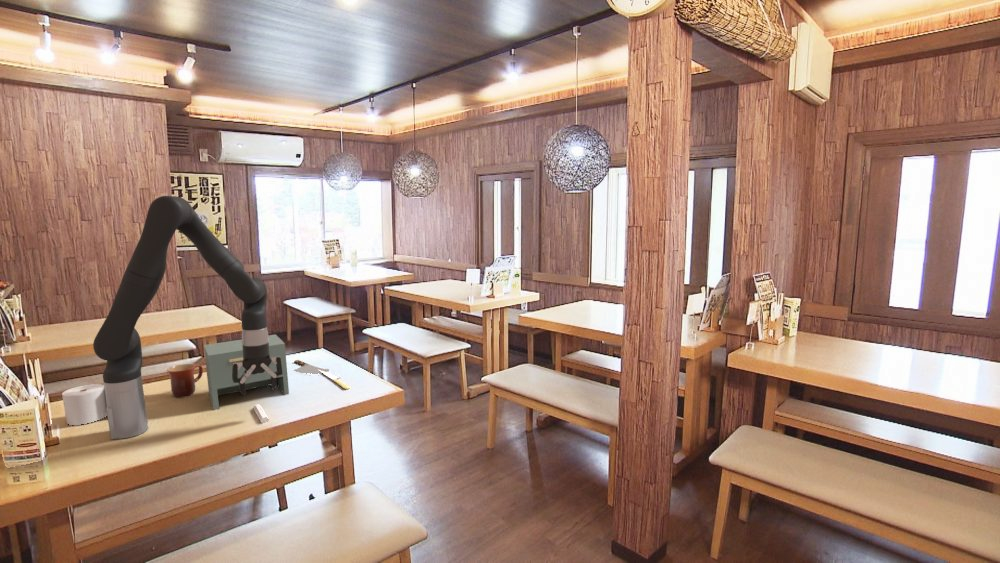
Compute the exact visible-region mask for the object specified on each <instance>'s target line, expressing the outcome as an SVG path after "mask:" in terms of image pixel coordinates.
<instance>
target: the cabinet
mask: <svg viewBox="0 0 1000 563" xmlns="http://www.w3.org/2000/svg"><path fill="white" fill-rule="evenodd" d="M268 338H269V354H270V358H273V357H276V356H279V357H280V358H281V365H282V373H283V374H282V375H279V376H277V378H276V379H277V387H278V388H279V389H280V391H281V392H282V393H283V395H284V396H286V395H287V396H288V395H289V394H290V389H289V387H290V386H289V379H288V378H289V376H288V365H287V353H286V343H285V342H284V341H283V340H282V339H281V338H280V337H279V336H278V335H277V334H276V333H275V334H270V335H269V334H268ZM203 351H204V358H205V361H204V362H205V368H206V369H205V370H206V379H207V387H208V394H209V399H210V402H211V405H212V408H213V410H214V411H216V410H219V409H220V403H219V396H222V395H226V394H231V393H237V392H240V387H239V383H234V382H233V380H232V363H233V362H236V363H241V362H243V347H242V339H236V340H229V341H222V342H217V343H215V342H214V343H209V344H204V345H203ZM269 368H270V369H271V370H272V371H273V372H276V371H277V368H276V364H274V362H273V361H272V362H271V364H270V365H269ZM244 370H245V368H244V367H243V366H241V367H240V369H239V370H238V378H240V377H241V375H242V374H243V372H244ZM244 383H245V391H247V390H253V389H256V388H261V387H266V386H271V375H270V374H269V373H268V372H267V371H265V372H264V373H257V374H250V375H249V377H248V378H247V379H246V380H245V382H244ZM246 389H247V390H246Z"/></svg>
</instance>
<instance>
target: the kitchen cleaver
mask: <svg viewBox="0 0 1000 563" xmlns="http://www.w3.org/2000/svg"><path fill="white" fill-rule="evenodd" d="M293 363H294V364H295V365H298V366H300V365H301V366H300V367H298V368H296V369H293V371H294V372H298V373H299V374H303V373H306V374H305V375H307V373H310V374H311V373H312V374H318V373H319V374H321V375H323V374H322V373H321V372H320V371H318V370H321V371H325V372H329V371H330V368H325V369H323V368H324V367H323V368H320V367H318V366H315V365H311V364H310V363H307V362H304V361H302V360H300V359H296V360H293Z"/></svg>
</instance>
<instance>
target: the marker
mask: <svg viewBox="0 0 1000 563" xmlns="http://www.w3.org/2000/svg"><path fill="white" fill-rule="evenodd" d="M253 411H254V412H255V413H256V415H257V418H258V419H259V421H260V423H262V424H265V423H266V422H267V423H269V422H270V419H269V417H268V414H266V412H265V410H264V409H263V408H262V405H261V404H259V403H258V404H254V406H253Z"/></svg>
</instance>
